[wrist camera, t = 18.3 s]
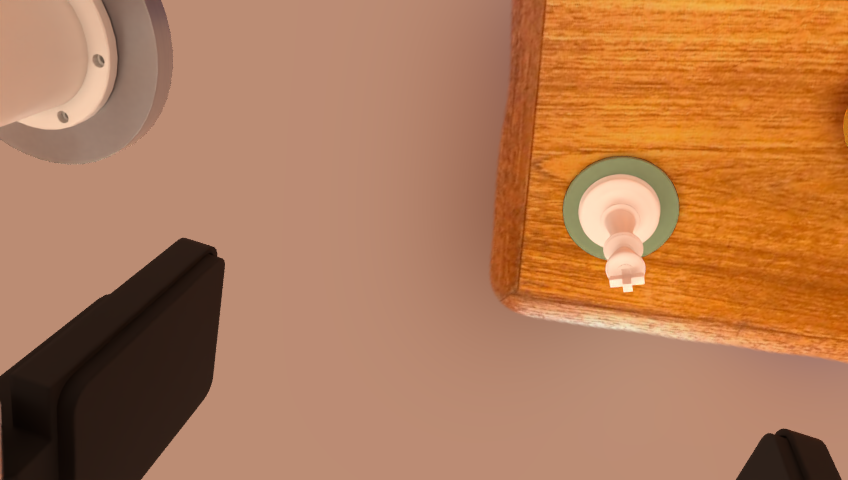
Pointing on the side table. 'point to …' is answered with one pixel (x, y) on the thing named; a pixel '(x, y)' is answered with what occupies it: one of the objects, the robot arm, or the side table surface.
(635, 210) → the chess piece
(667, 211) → the coaster
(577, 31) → the side table surface
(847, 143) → the lemon
